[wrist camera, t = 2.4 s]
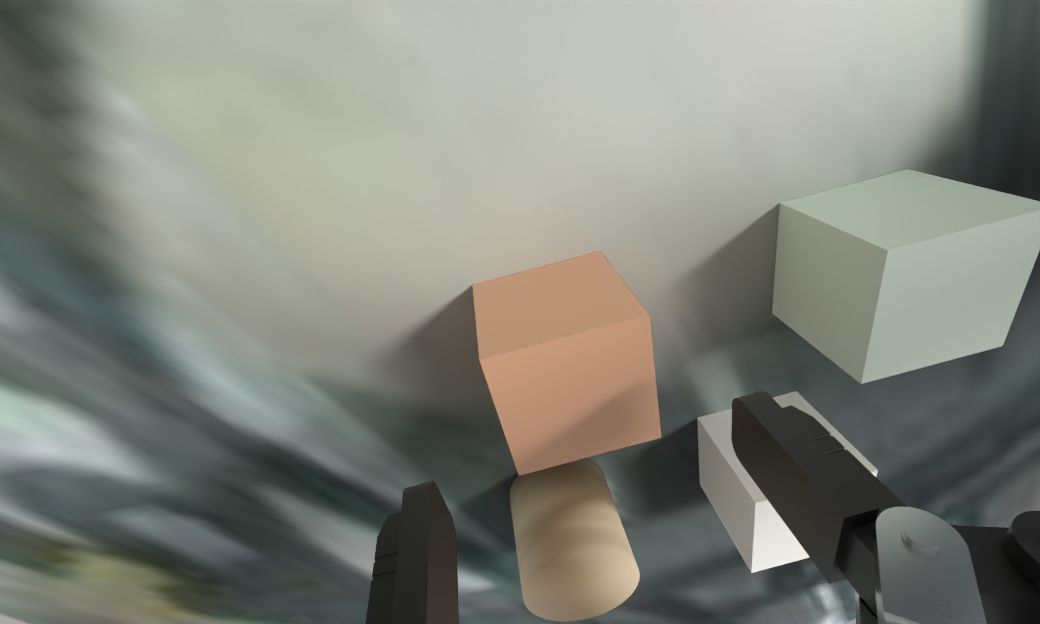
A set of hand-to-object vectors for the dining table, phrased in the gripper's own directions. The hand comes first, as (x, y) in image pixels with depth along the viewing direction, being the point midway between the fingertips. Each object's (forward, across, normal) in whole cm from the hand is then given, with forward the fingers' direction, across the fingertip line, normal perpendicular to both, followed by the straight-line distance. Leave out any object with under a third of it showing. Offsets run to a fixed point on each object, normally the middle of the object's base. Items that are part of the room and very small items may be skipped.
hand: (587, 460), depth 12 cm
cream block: (+7, -9, +10) cm, 15 cm away
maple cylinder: (+7, +1, +10) cm, 13 cm away
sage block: (+7, -12, 0) cm, 14 cm away
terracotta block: (+7, 0, 0) cm, 7 cm away
